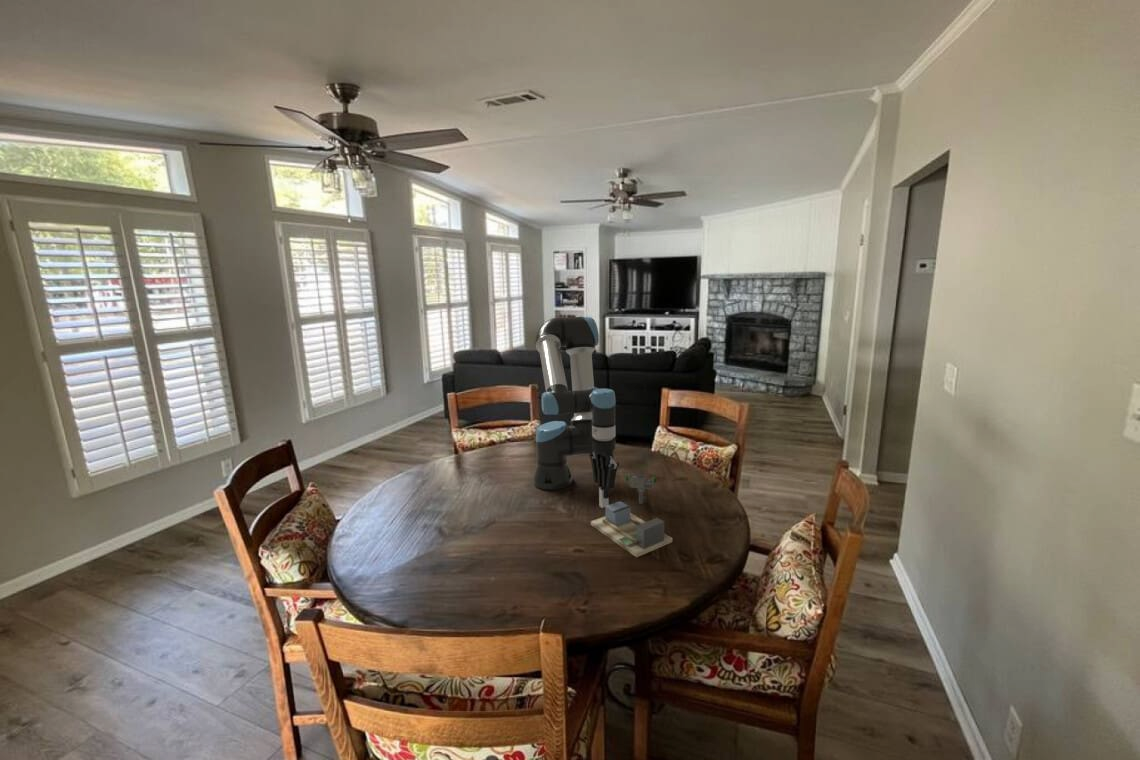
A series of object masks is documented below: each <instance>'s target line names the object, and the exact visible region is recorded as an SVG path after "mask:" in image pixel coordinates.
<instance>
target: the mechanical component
mask: <svg viewBox="0 0 1140 760" xmlns="http://www.w3.org/2000/svg"><path fill="white" fill-rule="evenodd" d="M625 480H626V481H628V486H629V487H630V488H637V490H636V491H637V492H638V504H639V505H643V504H644V493H645V492H646V490H645V489H647V490H652V489H654V487H655V486H654V485H655V483H657V477H654V476H651V478H650V479H647V478H646V475H645V474H635V473H629V474H628V475H626V476H625Z"/></svg>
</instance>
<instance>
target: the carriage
mask: <svg viewBox="0 0 1140 760" xmlns="http://www.w3.org/2000/svg"><path fill="white" fill-rule="evenodd" d="M604 508H605V512H604V514H605V515H604V516H605V519H606V520H608V521H609V522H611V523H612V524H614V525H615V526H620V525H623V524H625V523H628V522H630V513H631V508H632V504H629V505H627V504H625V502H622V501H617V502H615V503H614V502H613V503H611V504H609V505H608V506H605V507H604Z"/></svg>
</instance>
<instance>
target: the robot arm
mask: <svg viewBox="0 0 1140 760" xmlns="http://www.w3.org/2000/svg"><path fill="white" fill-rule="evenodd" d="M599 337H600V335H599V330H598V326H597V323H596V320H594V318H593V317H591V316H582V315H581V316H568V317H553V318H550V319H548V320H547V321H545V322H544V323H543V324H542V325H541V326H540V327H539V329H538V331H537V332H536V335H535V338H534V339H535V341H534V342H535V348H536V350H537V352H538V353H539V356H540V363H541V369H542V375H543V381H544V387H545V388H544V389H545V391H544V392H543V393H541V410H542V413H543V414H544V415H547V416H549V415H550V416H553V415H554V416H558V415H565V414H566V415H567V414H568V415H569V414H573V417H572V418H571V420H570V425H567V423H566V421H562V420H560V421H559V420H553V421H549V422H545V423H543V424H541V425H539V426H538V427H537V429H536V430H535V431H536V432H535V434H536V435H535V442H536V465H535V468H534V473H533V476H532V483H533V485H534V486H535V487H537V488H538V489H541V490H546V491H556V490H563V489H565V488H568V487H569V486H570V485H571V484H572V483H573V475H572V473H571V470H570V466H569V464H568V457H571V456H572V457H574V456H587V455H589V458H590V462H591V471H592V477H593V482H594V484H596V485H597V487H598V496H599V497H598V501H599V503H598V507H600V508H601V509H603V508H605V506H608V505H610V503H609V502H610V501H609V498H610V490H611V489H614V487H615V483H616V476H617V470H618V468H619V467H620V463H619V462H618V461H617V462H616V461H615V460H614V451H615V450H616V438H615V437H616V403H617V400H616V393H615V391H614V390H613V389H609V388H598V387H596V386H595V381H594V368H593V359H592V358H593V356H592V354H593V353H594V351H595V350H596V346H598V345H599V341H600V339H599ZM560 348H565V353H566V354H567V355H569V359H570V373H571V389H572V390H569V388H568V384H567V379H566V374H565V370H564V369H565V368H564V364H563V360H562V355H561V350H560Z"/></svg>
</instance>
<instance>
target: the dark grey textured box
mask: <svg viewBox="0 0 1140 760" xmlns="http://www.w3.org/2000/svg"><path fill="white" fill-rule="evenodd" d="M664 533H665V521H664V520H662V519H660V518H659V517H655V518H653V519H651V520H648V521H645V523H642V524H640V525H637V542H636V544H637V545H638V546H639V547H641V548H642V549H645V548H648V547H650V546H652V545H655V544H657V543H659V542H662V541H664Z"/></svg>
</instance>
